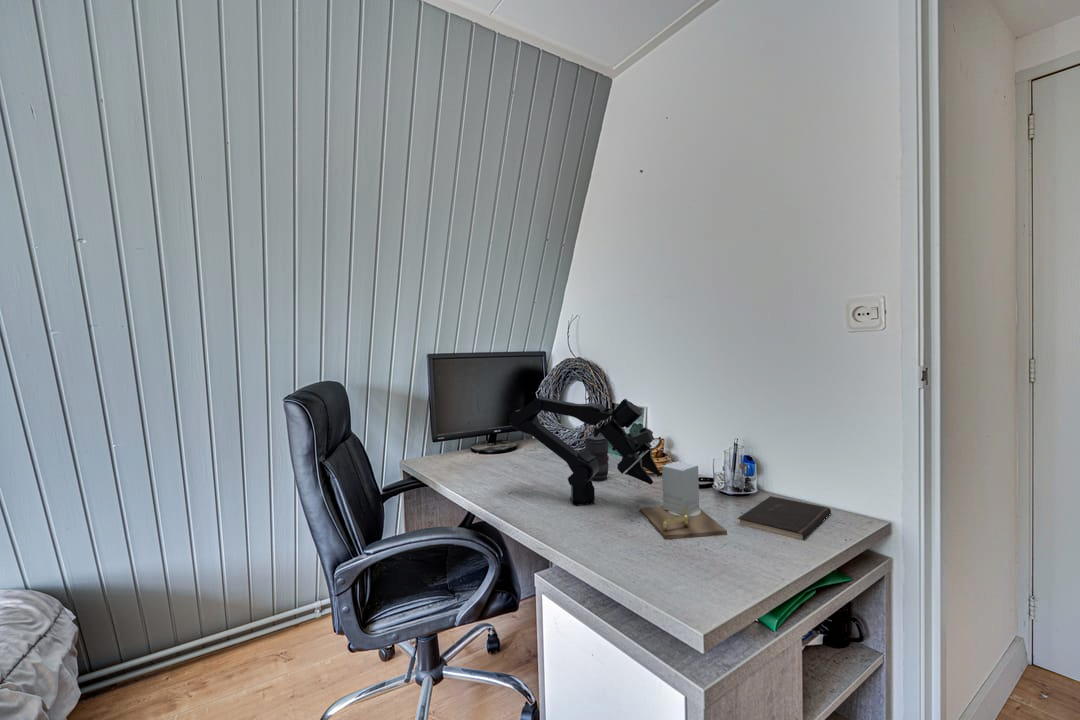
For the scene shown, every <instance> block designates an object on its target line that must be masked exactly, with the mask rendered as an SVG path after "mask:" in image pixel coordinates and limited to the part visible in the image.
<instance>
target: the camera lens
mask: <svg viewBox="0 0 1080 720" xmlns="http://www.w3.org/2000/svg"><path fill="white" fill-rule="evenodd" d="M584 438H585V439H584V440H585V441H584V449H585V450H587V451H588V452H589V453H590V454H591V455H593V456H596V457H595V459H596V460H597V461H598V462H599V471H598V472H597V473H596V474H595V475H594V477H593V479H591V481H592V482H603V481H606V480H607V479H608V474H609V455H608V452H609V445H608V444H609V442H608V441H607V440H606V439H605V438H604V437H603V436H602V435H601V434H600V435H599V436H597V437H594V434H593V435H587V436H586V437H584Z"/></svg>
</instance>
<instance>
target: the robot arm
mask: <svg viewBox="0 0 1080 720" xmlns="http://www.w3.org/2000/svg"><path fill="white" fill-rule="evenodd" d="M541 412H547V413H552V414H556V415H562V416H567V417H571V418H572V417H573V418H574V419H578V420H579V421H580V422H582V423H585V424H587V425H590V426H596V427H594V428H593V431H594V433H593V435H594V437H597V436H599V435H602V436H603V437H604V438H605V439H606V440H607V441H608V444H610V446H612V448H611V450H612V451H613V452H615V451H616V452H617V453H618V454H619V455H620V457H622V458H621V460H620V461H619V462H618V463H617V468H616V469H617V470H618V471H619V472H620V473H621V474H622V475H623V474H624V475H625V476H630V477H633V478H634V479H637V480H640V481H642V482H644V483H646V484H648V485H653V483H654V480H653V479H652V478H651V475H649V473H648V472H647V471H649V472H650V473H652V474H654V475H656V476H657V477H658V476H660V475H661V471H660V469H659V468H658V465H657V464H656V462H655V461H654V458H653V456H652V453H653V448H652V447H653V446H652V444H651V443H652V442H653V441H654V440H655V437H654V435H653V434H654V432H653V431H652V429H651V428H648V427H646V426H644V427H641V428H640V429H639V433H636V434H635V435H633V434H632V433H630V432H628V433H627V432H626V431H625V429H624V428H627V429H628V428H630V427H631V426H632V425H633V424H634V423H635V422H637V420H638V419H640V417H641V416H642V415H643V413H642V410H640V408H639V407H638V406H637V404H634V403H633V402H631V401H629V400H628V399H627V398H624V399H622V400H621V401H620V402H619V404H618V406H617V407H615V408H614V409H613V408H608V407H605V405H604V404H602V403H598V402H597V403H592V402H591V403H575V402H570V401H565V400H559V399H554V398H549V397H545V396H538V397H536V398H534V399H532V401H530V402H529V403H527V404H526V405H525V406H523V407H522V408H520V409H518V410H514V411H512V412H511V413H510V415H509V420H508V421H509V425H510V426H511V427H512V428H513V429H515V430H517V431H519V432H520V433H524V434H527V435H530V436H532V437H534V439H535V440H537V441H538V442H540V443H541V444H542V445H544V446H545V447H546V448H548V449H549V450H550V451H551V452H553V453H554V454H555V455H556V456H558V457H559V458H560V459H562V460H563V461H564V462H565V463H566V464H567V466H568V467H569V469H570V471H571V473H572V474H570V475H569V476H568V477H567V482H568V484H569V485H570V497H569V499H570V502H571V504H572V505H573V506H584V505H585V506H587V505H594V504H595V500H596V495H595V493H596V492H595V486H594V485H593V481H592V480H591V479H593V477H594V475H595V474H596V473H597V472H598V471H599V462H598V461H597V460H596V459H595V457H596V456H593V455H591V454H590V453H589V452H588V451H587V450H585V448H584V449H583V450H581V451H579V450H577V449H576V450H575V448H573V447H572V446H571V445H569V444H568V443H566V442H565V441H564V440H562V439H561V438H560V437H559V436H558V435H556V434H555V433H553V432H552V431H550V429H548V428H547V427H546V426H544V425H543V424H541V422H540V419H539V418H538V415H539V414H540V413H541ZM610 418H611V419H610ZM609 419H610V420H609ZM607 420H609V421H607ZM603 421H604V422H603ZM598 424H601V425H600V426H597V425H598Z"/></svg>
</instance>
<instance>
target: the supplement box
mask: <svg viewBox="0 0 1080 720" xmlns="http://www.w3.org/2000/svg"><path fill="white" fill-rule="evenodd" d="M661 471H662V473H661V475H662V476H661V478H662V482H661V483H662V506H663V509H665V510H668V511H672V512H675V513H678V514H681V515H683V508H687V513H688V514H689V513H692V512H694V511H697V510H699V508H700V488H699V487H700V485H699V484H700V483H699V481H700V480H699V479H700V477H699V465H696V464H692V463H687V462H684V461H683V462H682V461H678V460H677V461H673V462H670V463H667V464H663V465H661Z"/></svg>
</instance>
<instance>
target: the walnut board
mask: <svg viewBox="0 0 1080 720" xmlns="http://www.w3.org/2000/svg"><path fill="white" fill-rule="evenodd" d="M639 511H641V512H640V513H641V514H642V515H643V517H644V518H645V519H646V518H647V519H648V520H647V519H646V520H647V521H648V522H649V523H650V524H651V526H653V528H654V527H655V528H654V529H655V530H656V531H657V532H658V533H659V534H660V535H661V537H662V536H663V537H662V538H663V539H664V540H673V539H674V538H675V539H685V538H687V537H688V538H697V537H698V538H699V537H710V536H711V537H712V536H722V535H723V536H724V535H728V530H727V529H726V528H724V527H723V526H722V525H721V524H720V523H719V522H717V521H716V520H714V519H713V518H712V517H711V516H709V515H708V513H706V512H705V511H703V510H702V509H701V507H699V510H697V511H694V512H692V513H689V514H688V517H689V520H688V528H685V527H684V521H682V522H677V523H672V524H667V532H664V531H663V521H664V519H668V518H673V517H679V516H683V515H681V514H678V513H675V512H672V511H668V510H665V509H663V505H661V506H660V505H658V506H656V505H655V506H646V507H645V506H643V507H639Z"/></svg>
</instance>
